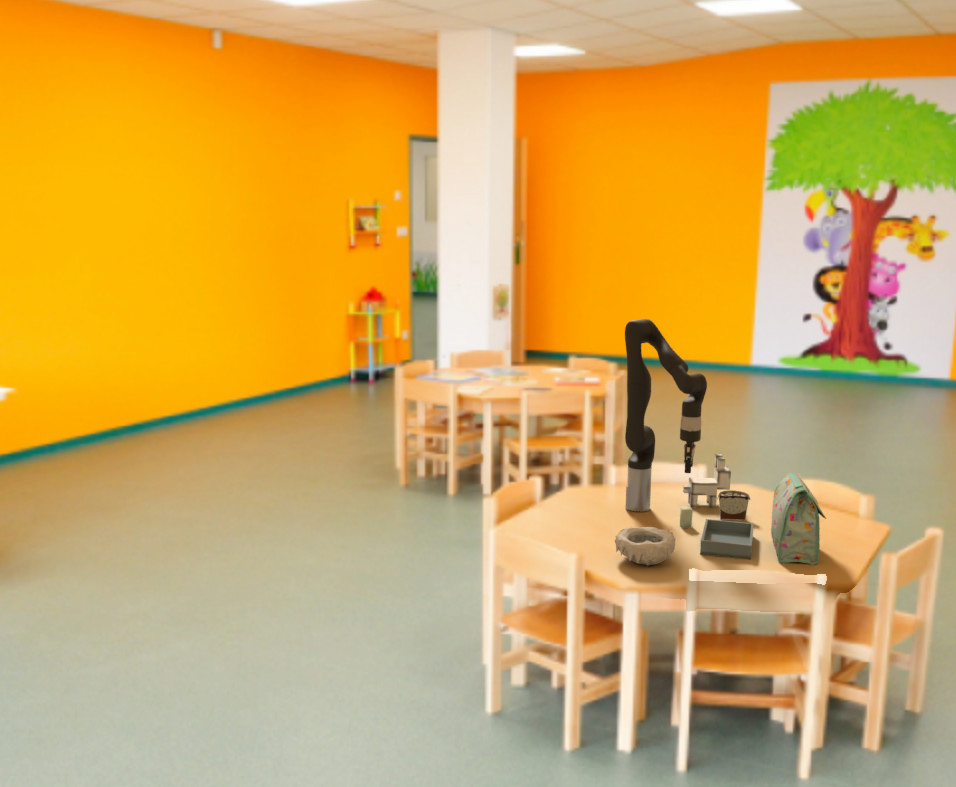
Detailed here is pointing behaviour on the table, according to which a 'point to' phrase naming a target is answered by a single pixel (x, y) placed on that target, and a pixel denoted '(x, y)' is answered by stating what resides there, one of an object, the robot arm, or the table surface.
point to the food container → (733, 505)
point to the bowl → (645, 544)
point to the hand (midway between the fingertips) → (688, 469)
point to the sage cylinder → (686, 517)
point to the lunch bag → (795, 522)
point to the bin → (727, 539)
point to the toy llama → (709, 484)
